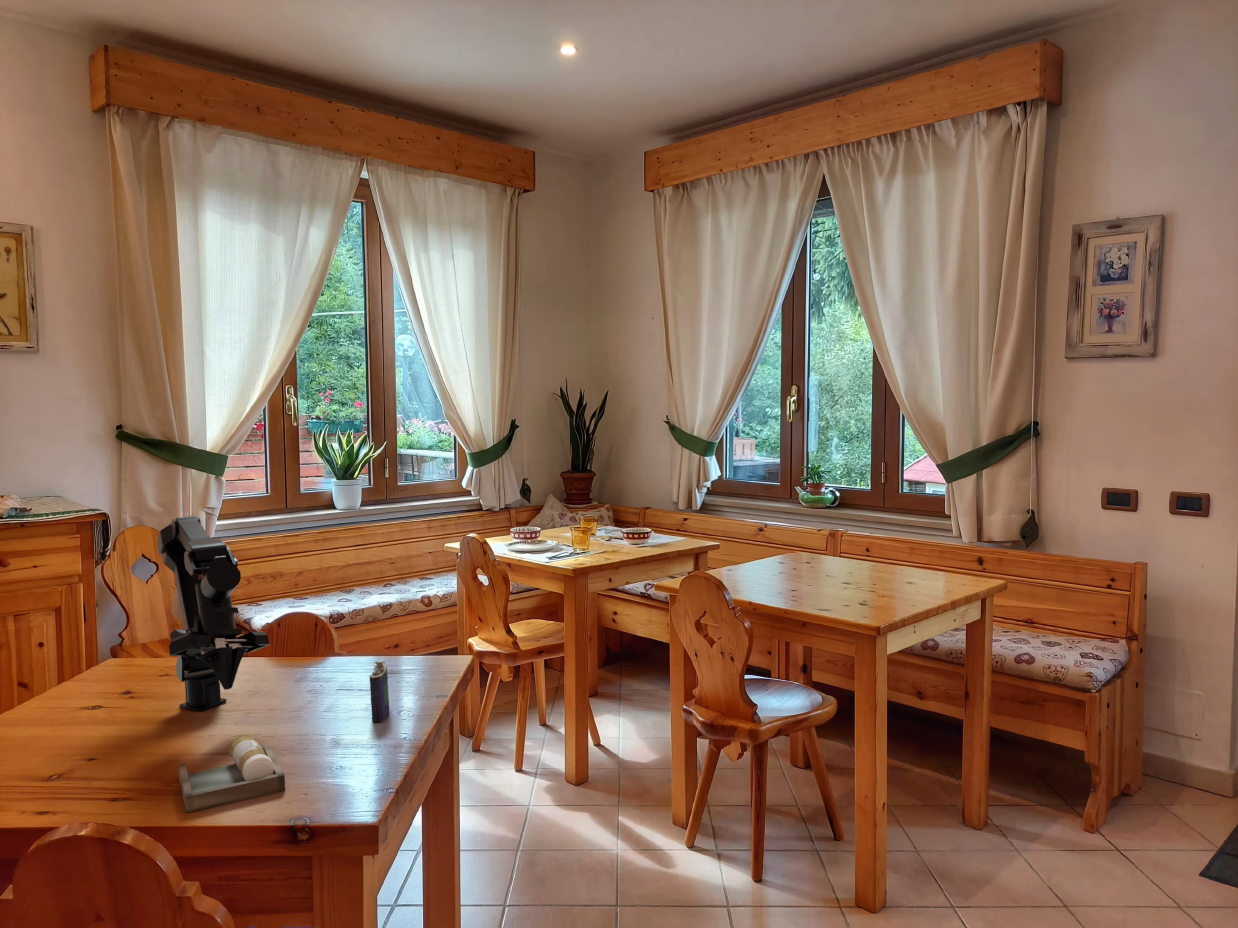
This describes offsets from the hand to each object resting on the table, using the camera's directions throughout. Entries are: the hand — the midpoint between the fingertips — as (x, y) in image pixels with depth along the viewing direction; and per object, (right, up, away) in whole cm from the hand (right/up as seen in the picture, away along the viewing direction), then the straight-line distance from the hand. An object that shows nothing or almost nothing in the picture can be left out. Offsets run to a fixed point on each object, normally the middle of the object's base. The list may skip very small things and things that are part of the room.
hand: (228, 688), depth 158 cm
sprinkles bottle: (+7, -7, -10) cm, 14 cm away
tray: (+9, -10, -19) cm, 24 cm away
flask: (+25, -8, +11) cm, 28 cm away
